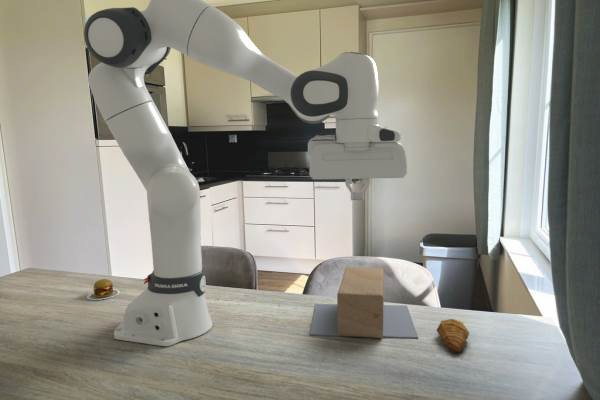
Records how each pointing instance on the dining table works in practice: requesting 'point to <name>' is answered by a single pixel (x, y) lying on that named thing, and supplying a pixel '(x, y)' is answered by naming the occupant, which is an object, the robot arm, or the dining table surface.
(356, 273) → the wooden block
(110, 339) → the dining table surface
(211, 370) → the dining table surface
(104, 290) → the hamburger
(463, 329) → the croissant
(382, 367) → the dining table surface
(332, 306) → the felt mat
